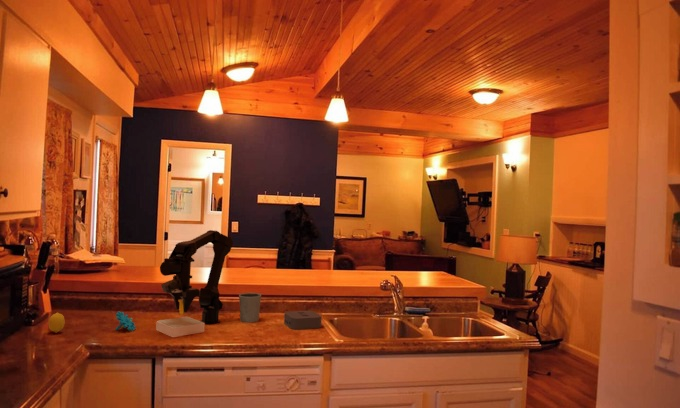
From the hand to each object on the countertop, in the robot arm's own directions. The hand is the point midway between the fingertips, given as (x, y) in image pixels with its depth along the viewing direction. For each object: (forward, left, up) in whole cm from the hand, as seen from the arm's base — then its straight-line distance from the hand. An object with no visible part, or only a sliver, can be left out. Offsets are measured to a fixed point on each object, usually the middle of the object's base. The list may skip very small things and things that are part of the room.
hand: (181, 310), depth 199 cm
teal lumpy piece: (+17, -14, -9) cm, 24 cm away
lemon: (+39, -25, -9) cm, 47 cm away
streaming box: (-48, +22, -9) cm, 54 cm away
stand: (0, 0, -8) cm, 8 cm away
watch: (0, 0, -1) cm, 1 cm away
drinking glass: (-34, +1, -9) cm, 35 cm away
